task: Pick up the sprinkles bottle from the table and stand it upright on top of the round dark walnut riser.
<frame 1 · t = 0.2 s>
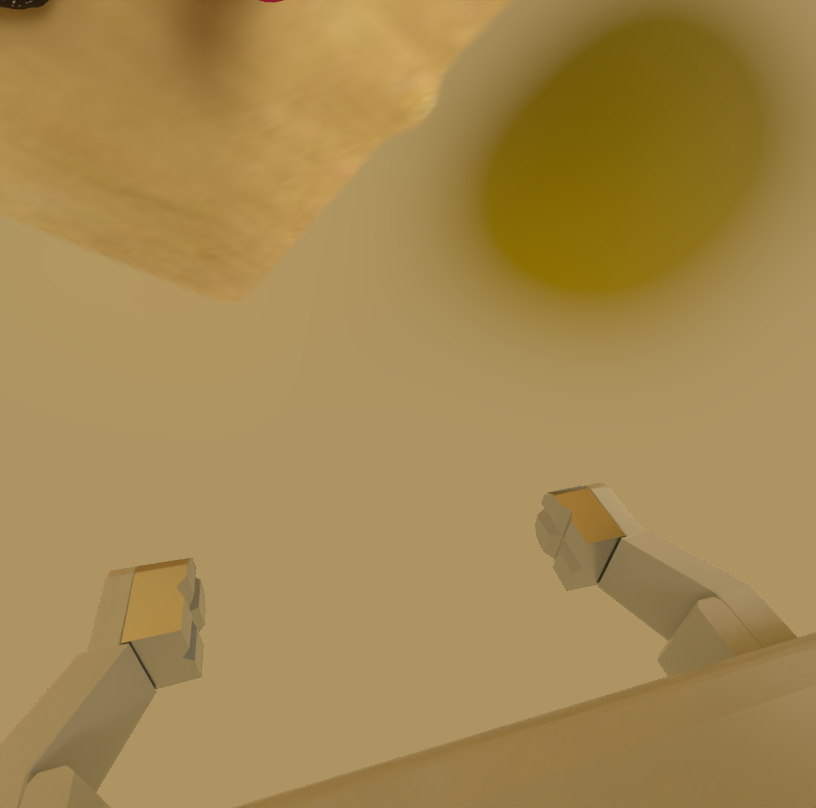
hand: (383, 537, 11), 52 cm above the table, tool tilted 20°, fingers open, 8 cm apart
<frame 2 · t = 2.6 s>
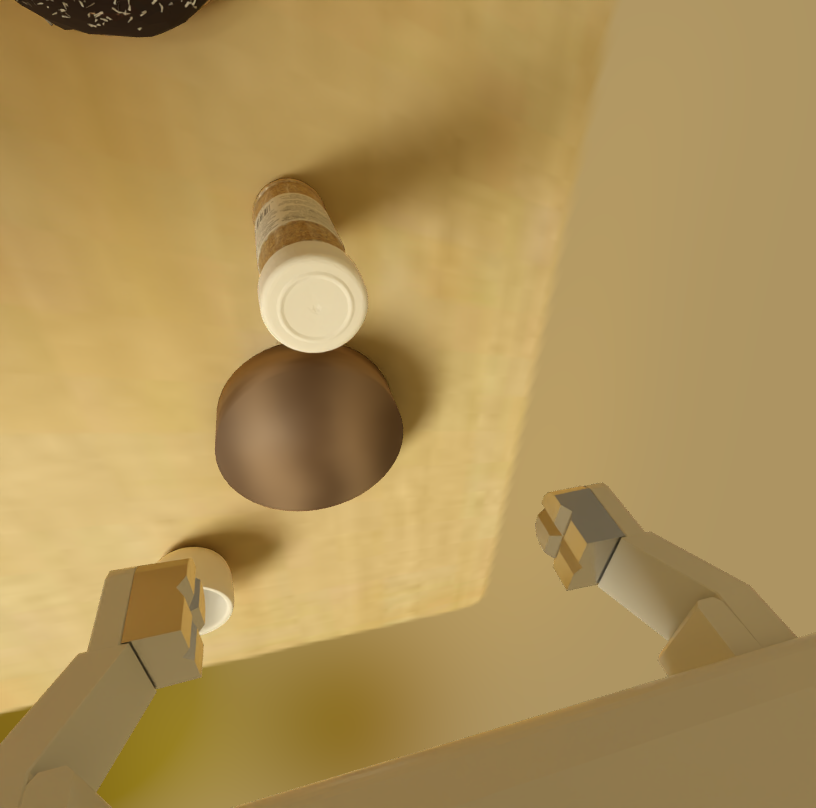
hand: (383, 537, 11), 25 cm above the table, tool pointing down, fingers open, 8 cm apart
walnut riser: (308, 415, 40), on the table
teacup: (195, 566, 48), on the table
sprinkles bottle: (289, 213, 31), on the table
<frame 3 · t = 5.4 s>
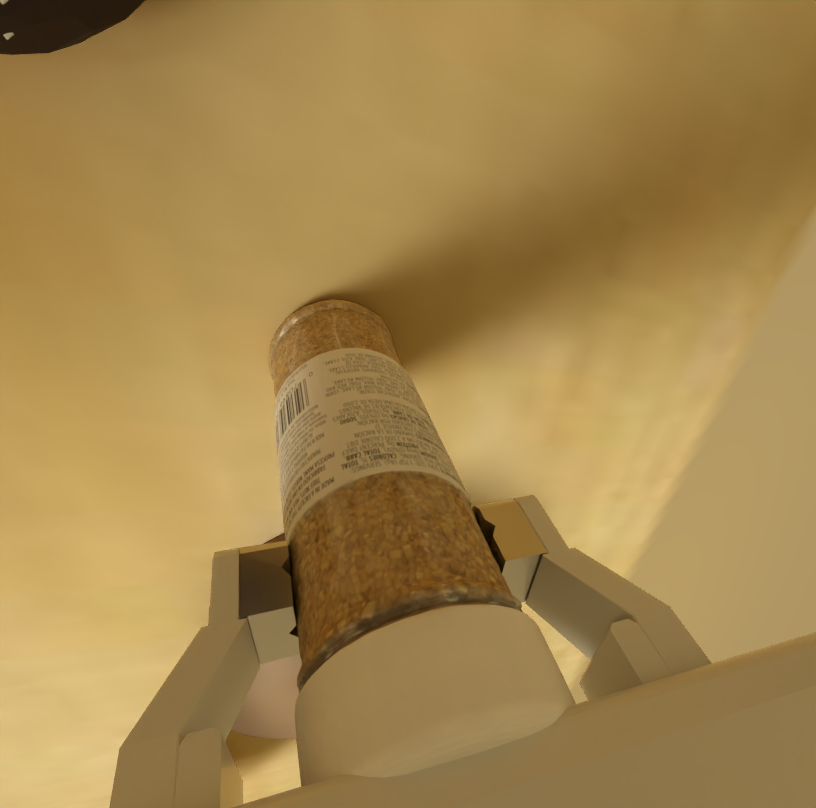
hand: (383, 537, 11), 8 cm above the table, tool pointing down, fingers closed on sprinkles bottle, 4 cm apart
walnut riser: (344, 599, 27), on the table
sprinkles bottle: (331, 349, 18), on the table, touching gripper
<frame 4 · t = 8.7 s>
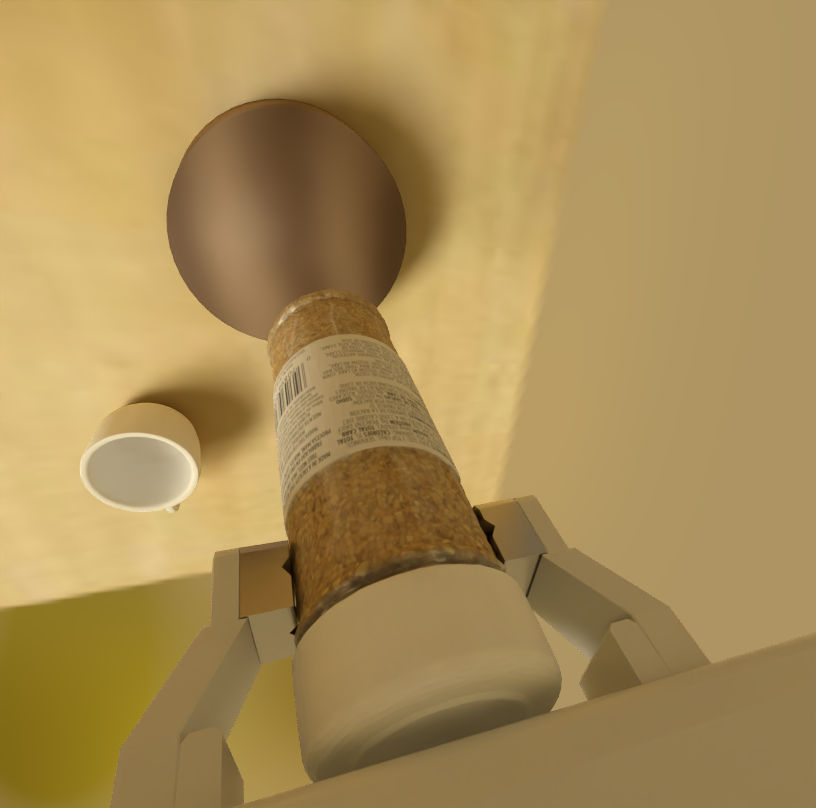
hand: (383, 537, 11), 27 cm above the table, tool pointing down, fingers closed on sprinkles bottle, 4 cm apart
walnut riser: (289, 221, 33), on the table
teacup: (157, 436, 40), on the table
sprinkles bottle: (328, 338, 18), point 18 cm above the table, touching gripper
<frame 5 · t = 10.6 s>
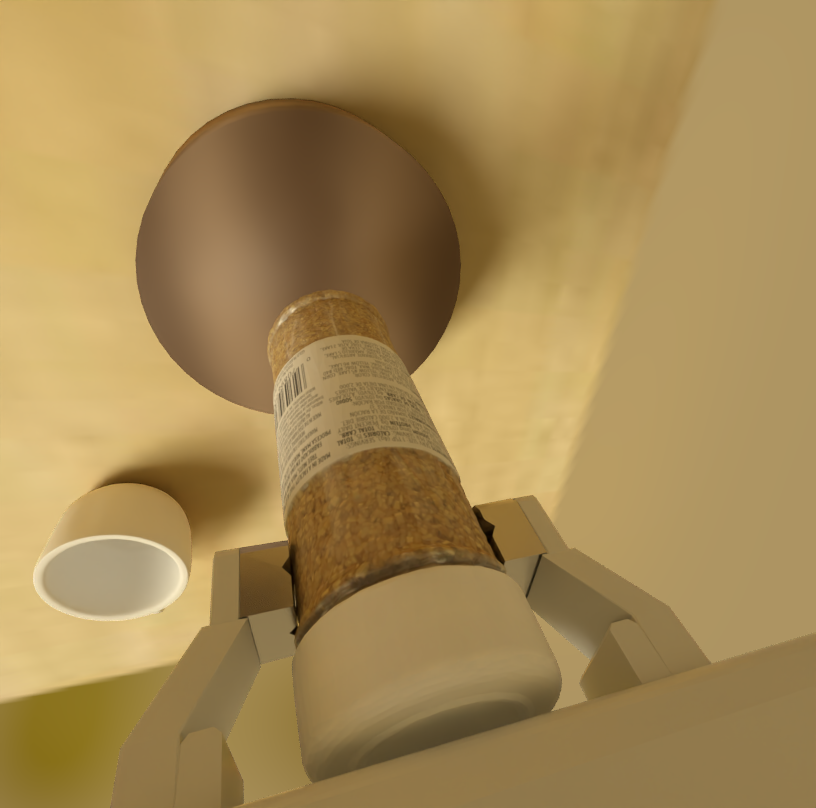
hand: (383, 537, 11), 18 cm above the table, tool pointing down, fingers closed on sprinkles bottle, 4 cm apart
walnut riser: (303, 259, 25), on the table
teacup: (139, 517, 32), on the table
sprinkles bottle: (328, 338, 18), point 9 cm above the table, touching gripper
when the fingers open (13 cm above the table, at t = 12.3 s): sprinkles bottle stays where it is, resting on walnut riser.
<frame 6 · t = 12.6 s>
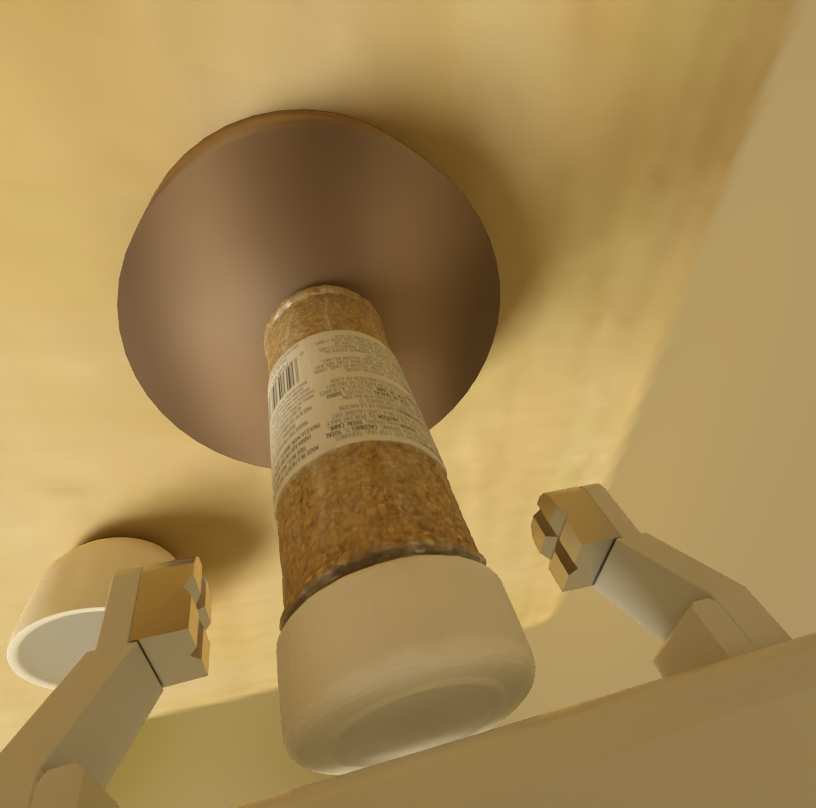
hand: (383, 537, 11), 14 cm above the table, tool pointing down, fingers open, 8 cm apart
walnut riser: (316, 292, 22), on the table
teacup: (130, 569, 29), on the table
sprinkles bottle: (324, 333, 19), point 4 cm above the table, touching walnut riser
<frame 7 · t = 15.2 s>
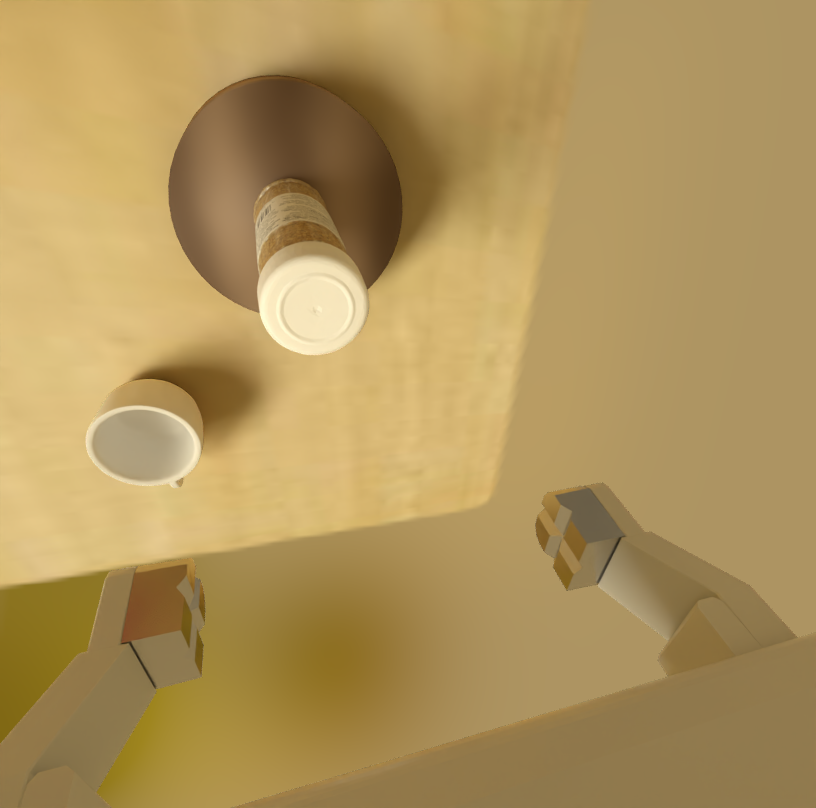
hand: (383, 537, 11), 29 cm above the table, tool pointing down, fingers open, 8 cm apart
walnut riser: (288, 198, 33), on the table
teacup: (161, 413, 41), on the table
sprinkles bottle: (290, 213, 30), point 4 cm above the table, touching walnut riser
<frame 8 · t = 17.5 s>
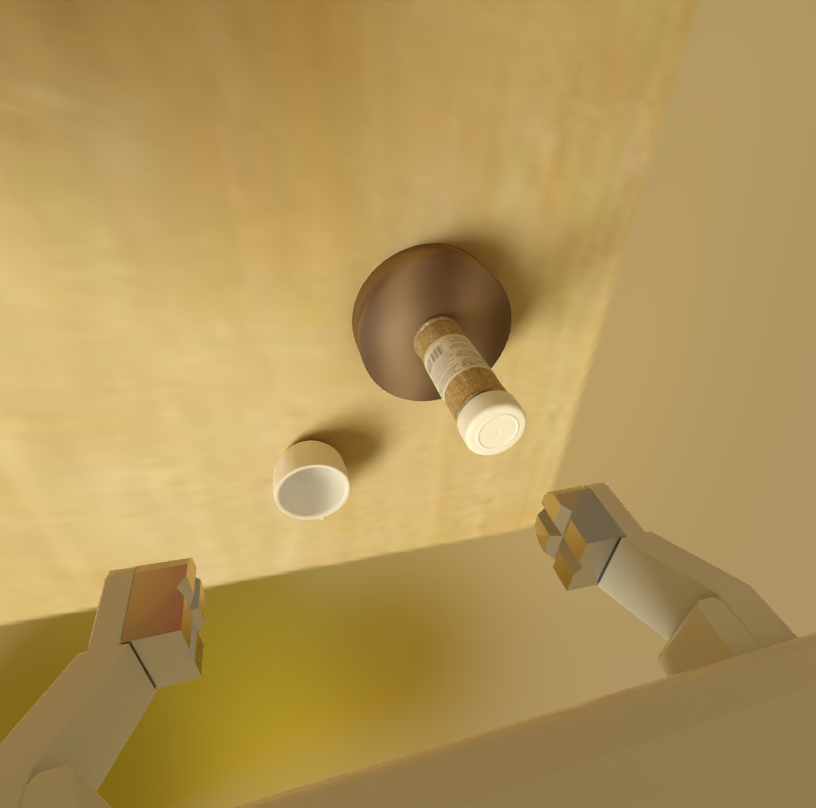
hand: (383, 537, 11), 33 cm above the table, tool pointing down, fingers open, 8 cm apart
walnut riser: (425, 316, 47), on the table
teacup: (309, 463, 54), on the table
sprinkles bottle: (436, 335, 44), point 4 cm above the table, touching walnut riser
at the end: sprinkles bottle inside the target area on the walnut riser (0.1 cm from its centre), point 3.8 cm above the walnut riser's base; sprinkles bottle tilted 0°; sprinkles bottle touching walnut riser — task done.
